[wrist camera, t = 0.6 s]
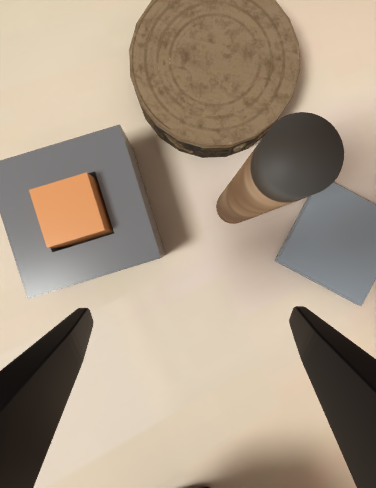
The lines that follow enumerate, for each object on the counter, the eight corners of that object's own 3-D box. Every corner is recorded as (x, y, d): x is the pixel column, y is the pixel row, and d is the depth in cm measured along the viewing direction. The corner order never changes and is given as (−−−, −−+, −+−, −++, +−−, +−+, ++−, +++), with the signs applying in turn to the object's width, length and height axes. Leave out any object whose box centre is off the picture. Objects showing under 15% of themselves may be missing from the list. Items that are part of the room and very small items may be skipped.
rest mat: (400, 221, 22) (406, 221, 22) (356, 304, 22) (361, 305, 22) (318, 177, 22) (322, 175, 21) (274, 260, 22) (277, 261, 21)
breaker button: (117, 232, 20) (104, 230, 17) (67, 247, 20) (46, 247, 17) (101, 182, 20) (86, 172, 17) (52, 197, 20) (28, 189, 17)
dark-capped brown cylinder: (254, 217, 22) (354, 181, 9) (222, 227, 22) (274, 206, 9) (244, 185, 22) (330, 102, 9) (212, 195, 22) (250, 126, 9)
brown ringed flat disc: (293, 20, 22) (309, -15, 19) (275, 167, 22) (289, 156, 19) (145, 0, 22) (139, -38, 19) (128, 149, 22) (119, 135, 19)
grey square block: (165, 255, 22) (160, 257, 18) (56, 288, 22) (27, 298, 18) (131, 146, 22) (119, 124, 18) (22, 179, 22) (-15, 165, 18)
